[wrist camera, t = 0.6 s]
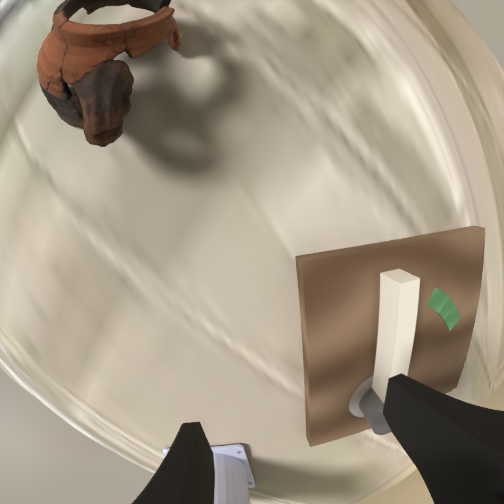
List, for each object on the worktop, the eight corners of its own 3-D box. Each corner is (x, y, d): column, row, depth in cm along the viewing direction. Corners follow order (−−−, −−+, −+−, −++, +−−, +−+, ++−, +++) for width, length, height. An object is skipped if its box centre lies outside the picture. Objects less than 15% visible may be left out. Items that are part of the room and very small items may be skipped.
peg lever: (392, 404, 20) (407, 424, 17) (357, 417, 19) (370, 440, 17) (410, 265, 17) (437, 277, 14) (367, 275, 17) (392, 290, 14)
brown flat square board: (449, 380, 23) (457, 388, 21) (306, 436, 22) (310, 448, 20) (474, 225, 19) (486, 228, 18) (295, 256, 18) (302, 262, 16)
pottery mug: (46, 74, 14) (41, -6, 6) (151, 51, 18) (175, -25, 11) (55, 198, 13) (17, 111, 6) (192, 156, 18) (240, 68, 10)
